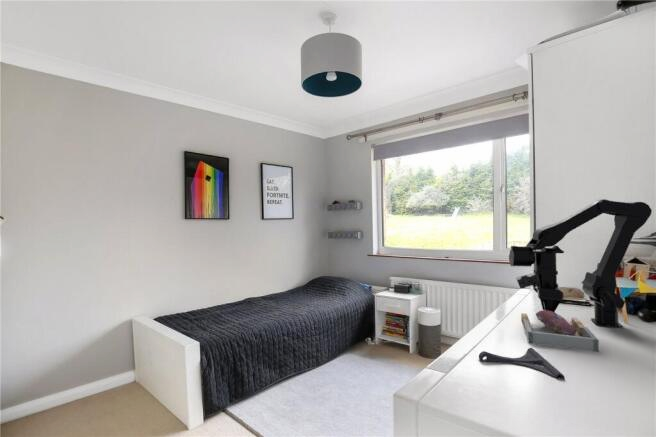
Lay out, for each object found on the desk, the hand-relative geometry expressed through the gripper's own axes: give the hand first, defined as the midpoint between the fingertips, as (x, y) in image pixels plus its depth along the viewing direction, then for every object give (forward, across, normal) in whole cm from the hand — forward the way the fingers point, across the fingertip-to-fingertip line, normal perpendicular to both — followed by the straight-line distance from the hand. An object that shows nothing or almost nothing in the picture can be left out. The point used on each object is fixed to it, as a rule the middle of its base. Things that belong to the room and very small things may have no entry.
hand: (547, 314), depth 107 cm
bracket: (+3, +39, -12) cm, 41 cm away
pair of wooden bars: (+2, +8, 0) cm, 8 cm away
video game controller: (+2, +10, +1) cm, 10 cm away
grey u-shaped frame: (+2, +19, 0) cm, 19 cm away
